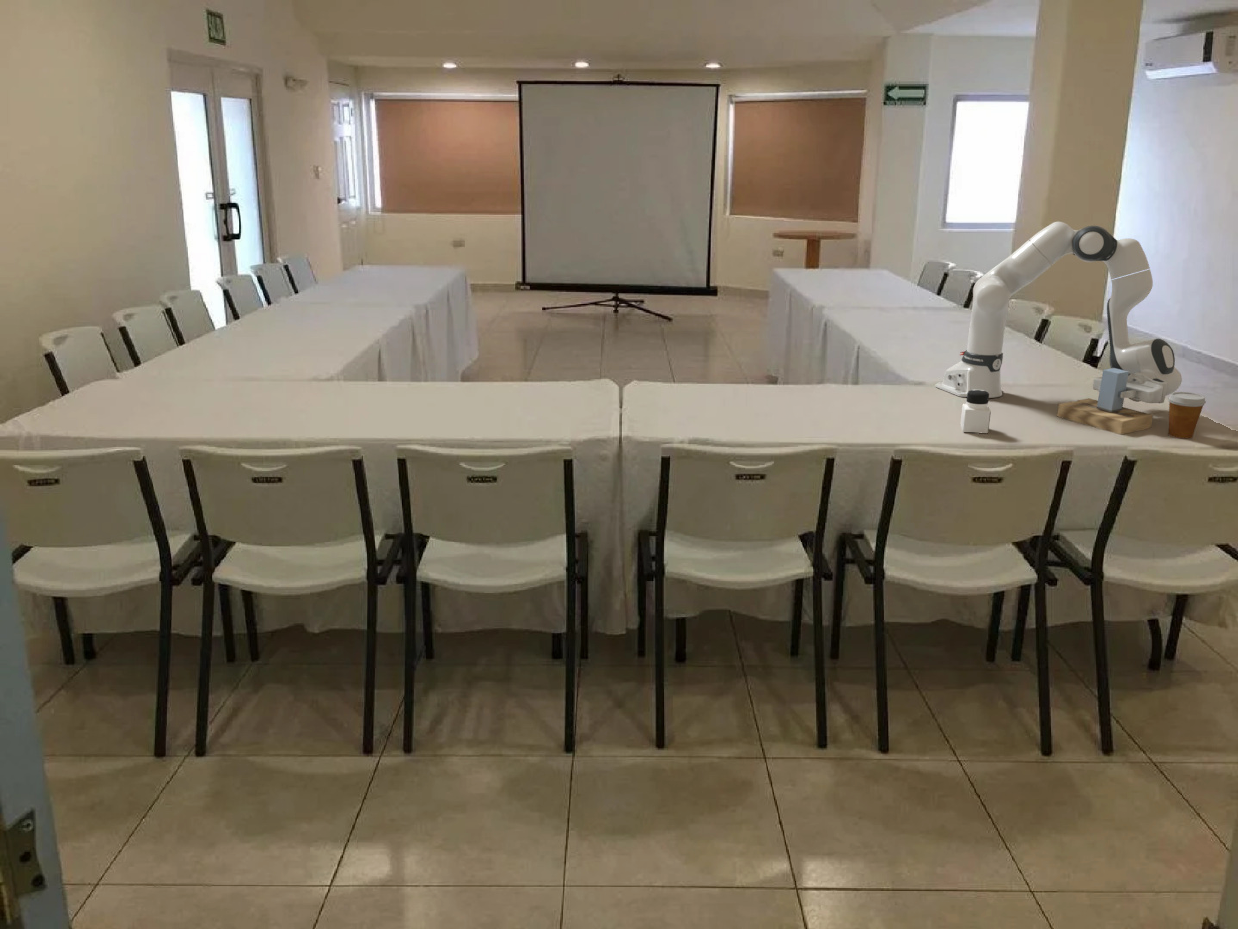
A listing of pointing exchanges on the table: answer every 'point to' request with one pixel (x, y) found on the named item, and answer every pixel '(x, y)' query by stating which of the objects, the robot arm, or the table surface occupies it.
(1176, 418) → the disposable coffee cup
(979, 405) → the medicine bottle
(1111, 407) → the block
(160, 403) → the table surface
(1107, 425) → the board
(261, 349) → the table surface
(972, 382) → the robot arm
